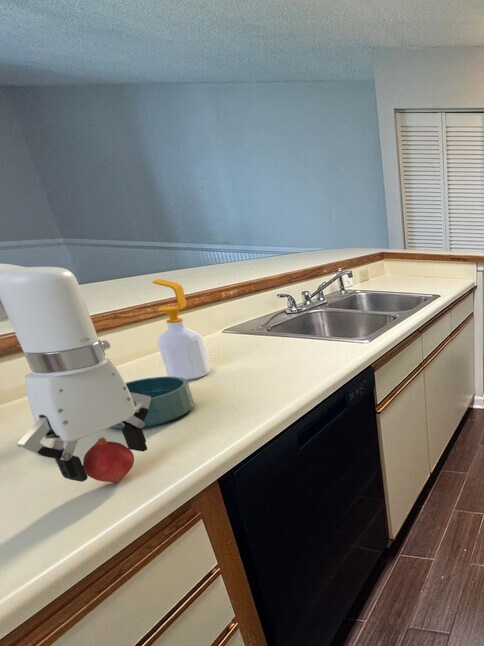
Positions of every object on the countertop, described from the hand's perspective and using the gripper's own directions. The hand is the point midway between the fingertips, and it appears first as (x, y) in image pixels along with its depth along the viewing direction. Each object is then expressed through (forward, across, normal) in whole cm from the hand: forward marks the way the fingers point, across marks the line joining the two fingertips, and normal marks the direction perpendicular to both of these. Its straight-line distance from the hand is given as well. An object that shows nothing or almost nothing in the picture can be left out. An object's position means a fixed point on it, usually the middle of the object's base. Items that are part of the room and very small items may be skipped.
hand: (109, 463), depth 66 cm
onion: (+4, 0, 0) cm, 4 cm away
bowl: (+3, -20, -18) cm, 27 cm away
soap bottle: (+4, -41, -32) cm, 52 cm away
